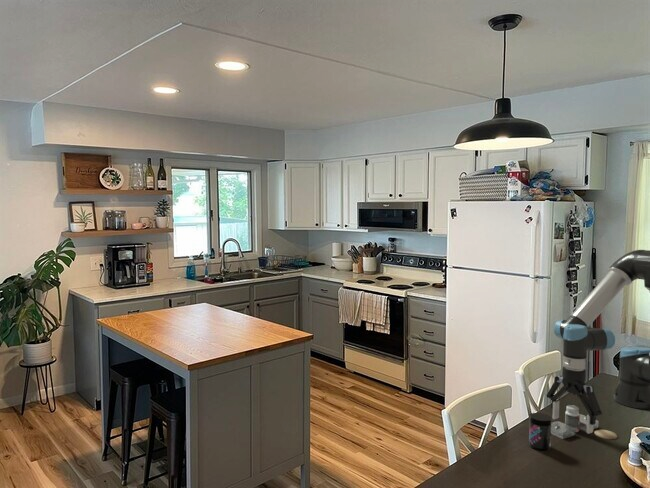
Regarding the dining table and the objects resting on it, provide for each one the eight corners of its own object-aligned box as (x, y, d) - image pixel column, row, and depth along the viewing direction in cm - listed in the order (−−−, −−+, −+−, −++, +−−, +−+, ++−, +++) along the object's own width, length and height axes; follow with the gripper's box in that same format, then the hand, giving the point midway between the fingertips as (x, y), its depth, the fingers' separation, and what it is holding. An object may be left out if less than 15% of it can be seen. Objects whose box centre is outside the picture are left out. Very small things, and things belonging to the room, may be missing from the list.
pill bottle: (581, 432, 177) (581, 410, 177) (566, 431, 178) (567, 409, 177) (577, 427, 182) (577, 405, 181) (563, 426, 183) (564, 404, 182)
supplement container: (528, 440, 171) (529, 411, 170) (550, 444, 168) (551, 414, 168) (528, 449, 164) (529, 418, 164) (551, 453, 162) (552, 422, 161)
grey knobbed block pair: (580, 420, 188) (580, 413, 187) (598, 427, 181) (598, 420, 181) (545, 431, 178) (545, 423, 178) (562, 439, 172) (563, 431, 172)
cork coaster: (602, 429, 180) (602, 428, 180) (621, 436, 174) (621, 435, 174) (590, 433, 177) (590, 432, 177) (609, 441, 171) (609, 439, 171)
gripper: (537, 360, 188) (536, 414, 189) (601, 379, 166) (598, 441, 167) (550, 357, 191) (549, 411, 192) (614, 376, 169) (612, 436, 171)
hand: (572, 425), depth 180 cm, fingers open, 13 cm apart
